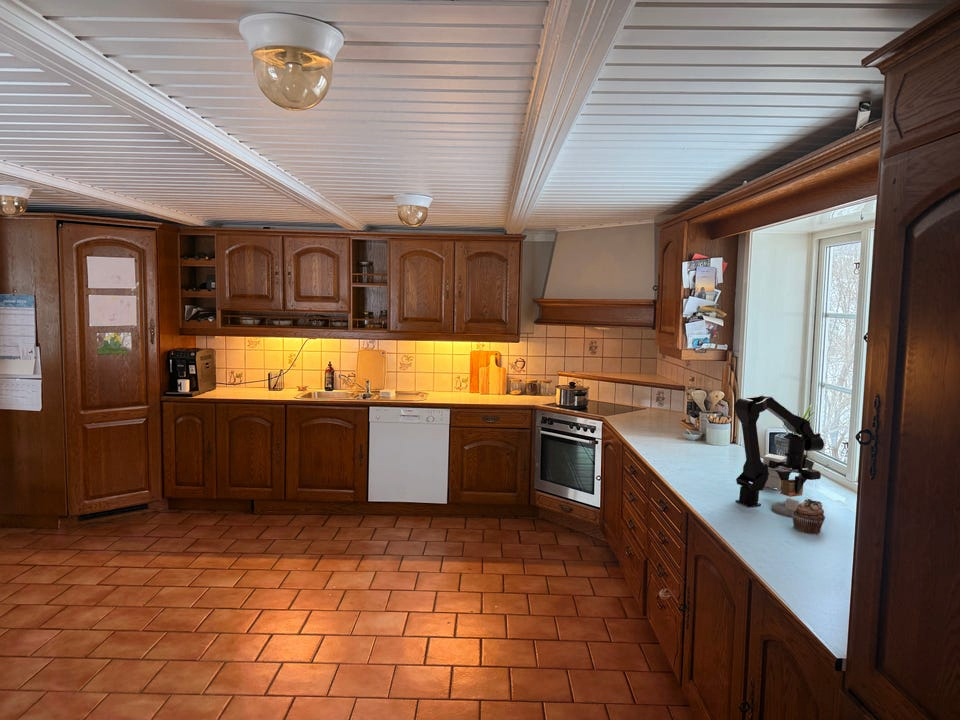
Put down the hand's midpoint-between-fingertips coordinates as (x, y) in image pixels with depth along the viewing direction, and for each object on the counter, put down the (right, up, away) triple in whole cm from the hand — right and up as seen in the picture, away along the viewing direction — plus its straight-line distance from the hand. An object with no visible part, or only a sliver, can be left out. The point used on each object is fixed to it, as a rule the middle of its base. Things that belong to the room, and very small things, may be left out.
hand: (791, 491), depth 248 cm
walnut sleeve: (0, -1, 0) cm, 1 cm away
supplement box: (+2, -2, +20) cm, 21 cm away
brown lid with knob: (-6, -5, -13) cm, 15 cm away
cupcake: (-10, -7, -31) cm, 33 cm away
